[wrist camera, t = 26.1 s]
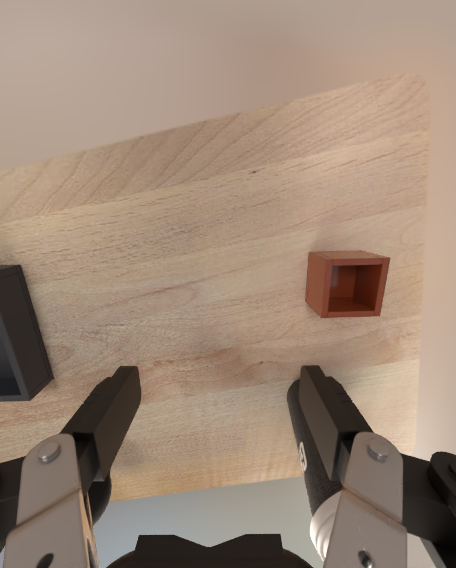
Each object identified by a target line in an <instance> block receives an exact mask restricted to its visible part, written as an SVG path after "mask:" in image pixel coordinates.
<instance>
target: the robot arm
mask: <svg viewBox="0 0 456 568" xmlns="http://www.w3.org/2000/svg"><path fill="white" fill-rule="evenodd" d="M140 401H141V386H140V379H139V371H138V367H137V366H120V367H119V368H118V369H117V371H116V372H115V373H114V375H113V376H112V377H107V378H106V379H104V380H103V381H102V382H100V383H99V384H98V385H97V386H96V387H95V388H94V389H93V391H92V392H91V393H90V396H88V397H87V399H86V400H85V401H84V404H82V405H81V406H80V408H79V409H78V410H77V411H76V413H75V414H74V415H73V417H72V418H71V419H70V420H69V422H68V423H67V424H66V426H65V427H64V428H63V429H62V431H61V432H60V433H59V434H57V435H54V436H51V437H49V438H47V439H45V440H43V441H42V442H40V443H39V444H37V445H36V446H35V447H34V448H33V449H32V450H31V451H30V452H29V453H28V454H27V456H24V457H21V458H17V459H14V460H10V461H7V462H3V463H0V552H1V551H2V549H3V548H4V546H5V553H4V560H3V568H100V566H99V561H98V556H97V551H96V544H95V538H94V531H93V524H92V517H91V511H90V504H89V497H88V493H87V492H88V490H89V488H90V486H91V484H92V482H93V481H104V480H105V478H106V476H107V474H108V472H109V470H110V467H111V465H112V463H113V461H114V459H115V457H116V455H117V452H118V450H119V448H120V446H121V444H122V442H123V440H124V437H125V435H126V433H127V431H128V429H129V427H130V425H131V422H132V420H133V418H134V416H135V414H136V412H137V409H138V407H139V405H140ZM299 401H300V405H301V408H302V410H303V413H304V415H305V418H306V420H307V423H308V426H309V428H310V431H311V433H312V436H313V438H314V441H315V443H316V446H317V448H318V451H319V454H320V456H321V459H322V461H323V464H324V466H325V469H326V471H327V474H328V477H329V479H330V481H336V480H340V481H341V483H342V485H343V487H342V490H341V494H340V498H339V502H338V506H337V511H336V515H335V519H334V523H333V527H332V532H331V536H330V540H329V544H328V548H327V553H326V557H325V561H324V565H323V568H407V533H409V534H412V535H415V536H417V537H419V538H420V540H421V542H422V543H423V545H424V547H425V549H426V551H427V552H428V554H429V556H430V558H431V560H432V561H433V563H434V565H435V567H436V568H456V455H454V454H451V453H447V452H436V453H434V454H433V455H432V457H431V460H430V462H429V461H426V460H422V459H418V458H415V457H412V456H408V455H405V454H402V453H400V452H399V451H398V450H397V448H396V447H395V446H394V445H393V444H392V443H391V442H389V441H388V440H387V439H385V438H384V437H382V436H380V435H378V434H375V433H374V432H373V431H372V429H371V428H370V426H369V425H368V423H367V422H366V420H365V419H364V417H363V416H362V415H361V413H360V412H359V410H358V409H357V407H356V406H355V404H354V403H352V400H351V398H350V397H349V396H348V395H347V393H346V391H345V390H344V388H343V387H342V385H341V384H340V383H339V382H337V381H336V380H335V379H334V378H332V377H326V376H325V374H324V373H323V371H322V370H321V368H320V367H319V366H318V365H312V366H302V367H301V375H300V385H299ZM106 568H313V567H312V566H311V565H310V564H308V563H307V562H306V561H305V560H303V559H302V558H300V557H299V556H298V555H296V554H294V553H292V552H290V551H288V550H285V549H283V547H282V542H281V535H280V534H245V535H243V536H240V537H237V538H234V539H232V540H229V541H226V542H224V543H221V544H218V545H216V546H213V547H205V546H202V545H200V544H197V543H194V542H192V541H189V540H186V539H183V538H181V537H178V536H175V535H139V537H138V541H137V545H136V548H135V550H134V551H132V552H129V553H128V554H126V555H124V556H122V557H120V558H119V559H117V560H116V561H114V562H113V563H111V564H110V565H109V566H108V567H106Z"/></svg>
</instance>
